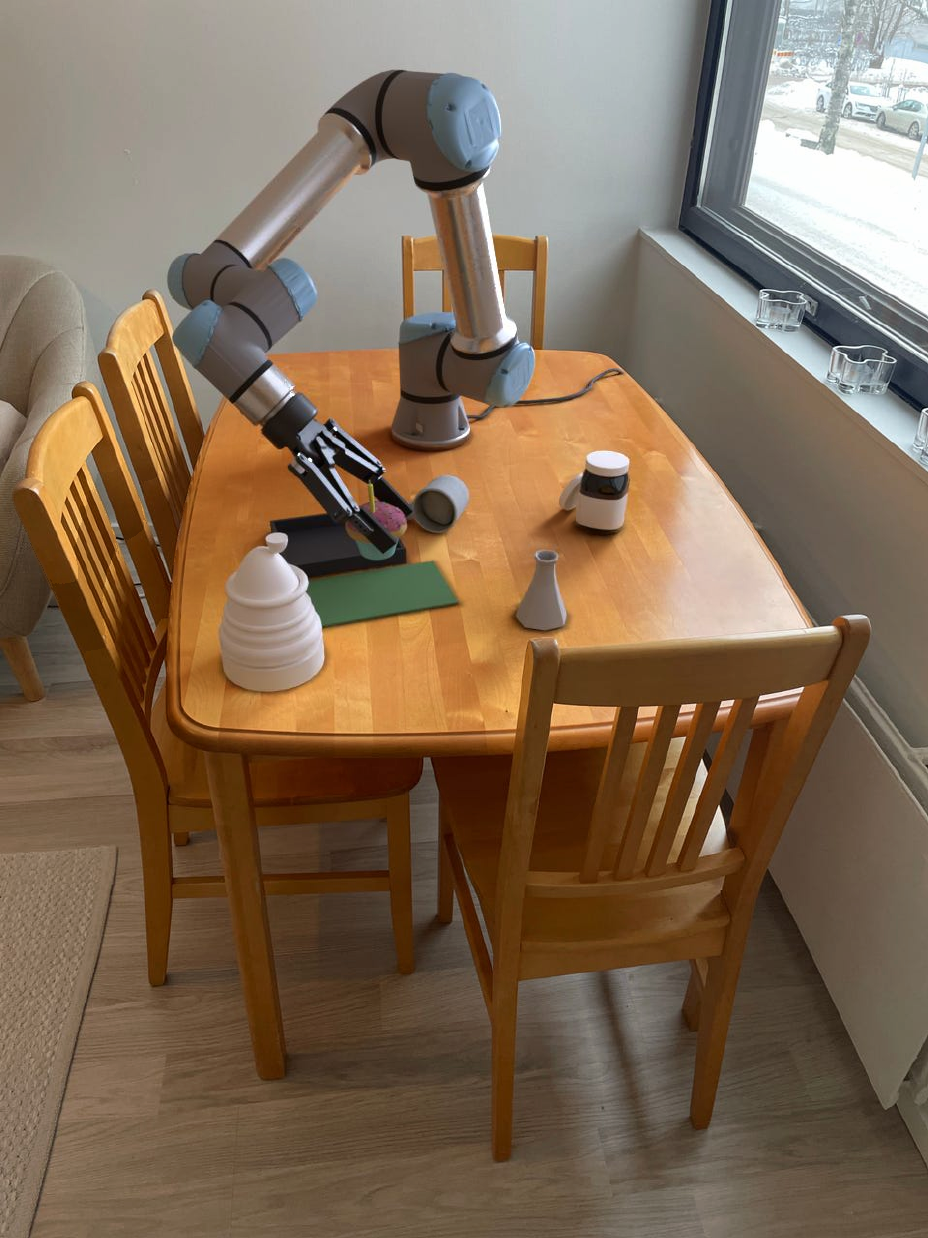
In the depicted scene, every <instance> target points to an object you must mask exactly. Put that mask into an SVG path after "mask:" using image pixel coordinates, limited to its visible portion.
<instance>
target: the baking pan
mask: <svg viewBox="0 0 928 1238" xmlns="http://www.w3.org/2000/svg"><path fill="white" fill-rule="evenodd" d="M337 513H338V512H337ZM269 529H270V530H269V531H270V534H272V533H284V534H286V535H287V536H288V543H287V546H286V548H285V550H284V551H282V552H281V553H279V554H280V555H281V556H282V557H283V558H284V559H285V561H286V562H287V563H288V564H291V565H294V566H296V567H298V568H299V569H301V570H302V571H303V572H304V573H305V574H306V575H307V578H308V579H312V578H316V577H324V576H330V575H337V574H338V575H339V574H343V573H350V572H356V571H363V570H370V569H376V568H381V567H382V568H384V567H388V566H389V567H390V566H394V565H396V566H397V565H402V564H407V547H406V546H405V544H404V542H403V540H402V539H401V537H400V538H399V540H398V543H397V545H396V548H395V552H394V554H393V555H392V556H391V557H389V558H387V559H384V560H370V559H367V558H365V557H363V556H362V555H361V553H360V550H359V548H358V545H357V543H356V541H355V540H354V539H352V538H351V537H350V536H349V534H348V532H347V530H346V523H344V524H343V525H341V524H336V523H335V522H334V521H333V520H332V518H331V517H330V516H329V515H328V513H327V512H324V513H316V514H310V515H301V516H295V517H287V518H279V519H273V520H272V519H271V520H269ZM297 578H298V577H297Z"/></svg>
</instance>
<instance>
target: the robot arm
mask: <svg viewBox="0 0 928 1238" xmlns="http://www.w3.org/2000/svg"><path fill="white" fill-rule="evenodd" d="M501 122H502V121H501V116H500V111H499V107H498V104H497V101H496V99H495V97H494V95H493V94H492V92H491V91H490V89H489V88H488V87H487V86H486V84H484V83H482V82H481V81H480V80H479V79H477V78H475V77H472V76H465V75H462V74H459V73H456V72H446V73H441V72H439V73H438V72H426V71H412V70H406V69H388V70H385V71H380V72H379V73H376V74H374V75H371V76H370V77H368V78H366V79H365V80H363V81H361V82H360V83H358V84H357V85H356V86H354V87H353V88H351V89H350V90H349V91H348V92H346V93H344V95H342V97H340V98H339V99H338V100H336V101H335V103H334V104H333V105H332V106H331V107H329V109H327V111H325V112H324V114H323V115H321V117H320V118H319V120H318V121H317V132H316V133H315V134H314V136H312V137H311V138H310V139H309V141H308V142H307V143H306V144H305V145H304V146H303V147H302V148H301V149H300V150H299V151H298V152H297V153H296V154H295V155H294V156H293V157H292V158H291V159H290V160H289V161H288V162H287V164H286V165H285V166H283V167H282V168H281V170H280V171H279V172H278V173H276V174H275V176H274V177H273V178H272V179H271V180H270V181H269V182H268V184H266V186H265V187H263V188H262V190H261V191H260V192H259V193H258V194H257V195H256V196H255V197H254V198H253V199H252V200H251V201H250V202H249V203H248V205H246V207H244V208H243V210H241V212H240V213H239V214H238V215H237V216H236V217H235V218H234V219H233V220H232V221H231V222H230V223H229V224H228V225H227V226H226V228H224V230H223V231H222V232H220V233H219V235H218V236H217V237H216V238H215V239H214V240H213V241H212V242H211V243H210V244H209V245H208V246H207V247H206V248H205V249H204V250H203V251H202V252H201V253H198V252H197V253H196V252H191V253H189V252H188V253H183V254H181V255H178V256H176V257H175V258H174V260H172V262H171V263H170V265H169V268H168V271H167V277H166V282H167V288H168V292H169V294H170V296H171V297H172V299H173V300H174V302H176V304H178V305H179V306H181V307H182V308H185V309H187V310H188V311H190V312H189V313H188V314H186V316H185V317H184V318H183V319H182V320H181V321H180V323H179V324H178V325H177V326H176V328H175V329H174V331H173V333H172V335H171V336H172V337H171V339H172V340H171V341H172V344H173V346H174V347H175V348H176V349H177V350H178V352H179V353H180V354H181V355H182V356H183V358H185V359H186V361H187V362H188V363H189V364H190V365H191V366H192V368H193V369H194V370H196V371H198V372H199V374H201V375H202V377H204V378H205V379H206V380H207V382H209V383H210V384H211V385H212V386H213V387H214V388H215V389H216V390H217V391H219V393H221V395H223V396H224V397H225V399H227V400H228V402H229V403H230V404H231V405H232V406H234V407H235V408H236V409H237V410H238V411H239V413H240V414H241V415H242V416H244V417H245V418H246V419H247V420H248V421H249V422H250V423H251V424H252V426H254V427H258V426H260V427H261V429H260V433H261V435H262V436H263V437H265V439H267V441H268V442H269V443H270V444H272V446H273V447H275V448H276V450H283V449H284V448H287V449H288V450H289V451H290V452H291V454H292V456H293V457H294V458H293V460H291V462H289V463H288V464H287V466H286V468H287V470H288V471H289V472H290V473H291V474H292V475H293V476H295V477H296V478H297V479H298V480H300V482H301V483H302V484H303V486H304V487H305V488H306V489H307V491H308V492H309V493H310V494H311V495H312V496H313V498H314V499H315V500H316V502H317V503H318V504H319V505H320V506H321V508H322V509H323V510H324V511H325V513H328V515H329V516H330V517H331V518H332V520H333V521H334V522H335V523H336V524H341V525H343V524H344V523H346V522H347V521H349V522H350V523H351V524H352V525H353V526H354V527H355V528H356V529H357V530H358V531H359V532H360V533H361V534H362V535H363V536H365V537H366V538H367V539H368V540H369V541H370V542H371V543H372V544H373V545H374V546H375V547H376V548H377V549H378V550H379V551H380V552H381V553H382V554H384V553H385V552H386V551H388V550H389V549H390V548H392V547H393V546H394V545H395V544H397V542H398V540H397V539H396V538H395V537H394V536H393V535H392V534H391V533H390V532H389V531H388V530H387V529H386V528H385V527H384V526H383V525H382V524H381V523H380V522H379V521H378V520H377V519H376V518H375V517H374V516H373V515H372V514H371V513H370V512H369V511H368V510H367V509H366V508H365V507H364V506H363V507H362V508H361V509H359V507H358V506H359V505H358V504H357V502H356V500H355V499H354V497H353V495H352V494H351V492H350V490H349V489H348V488H347V486H346V484H345V483H344V481H343V479H342V478H341V476H340V475H339V473H338V471H337V470H336V468H335V466H337V467H339V468H340V469H342V470H343V471H345V472H347V474H350V475H352V476H353V477H355V478H356V479H358V480H360V481H362V482H363V483H365V484H366V485H368V484H369V480H370V482H371V484H372V485H373V494H374V498H375V499H376V500H377V501H379V502H385V503H388V504H390V505H393V506H394V507H396V508H397V507H398V508H399V509H400V510H401V511H402V512H403V514H404V515H405V518H406V517H407V516H408V515H410V514H411V513H412V512H413V511H414V509H413V507H412V506H411V505H410V504H409V503H410V502H408V501H407V500H406V499H405V498H404V497H403V496H402V495H401V494H400V493H399V492H398V490H396V489H395V488H394V486H392V484H390V482H389V481H387V479H385V478H384V477H383V476H382V475H384V474H385V473H386V471H387V469H386V468H385V466H383V463H382V462H381V460H379V459H378V458H377V457H376V456H374V455H373V453H372V452H370V451H369V450H367V449H366V448H365V447H364V446H363V445H361V444H360V443H359V442H358V441H357V440H355V439H354V438H353V437H352V436H351V435H350V434H349V433H348V432H346V431H345V430H344V429H343V428H342V427H341V426H340V425H339V423H338V422H337V421H336V420H335V419H334V418H332V417H329V418H328V419H327V420H326V421H325V422H324V423H321V422H319V421H318V420H317V419H315V417H316V416H317V415H318V413H319V409H318V407H317V406H316V405H315V404H314V403H313V402H311V400H310V399H309V398H308V397H307V396H306V395H305V394H304V393H303V392H300V391H297V392H296V391H295V389H296V385H295V384H294V382H292V381H291V380H290V379H289V378H288V376H286V375H285V373H284V372H283V371H282V370H281V369H279V367H277V366H276V364H274V362H273V361H272V360H271V359H270V358H269V357H268V356H267V355H266V354H267V353H268V351H270V350H271V349H272V347H273V346H275V345H276V344H277V343H278V342H279V341H280V340H281V339H282V338H284V336H286V335H287V334H288V333H289V332H290V331H291V330H292V329H293V328H295V327H296V326H297V325H298V324H299V323H301V322H303V319H304V317H305V316H306V315H307V314H308V313H309V312H310V311H311V309H313V307H314V306H315V305H316V303H317V301H318V291H317V288H316V286H315V284H314V281H313V279H312V277H311V276H310V274H309V273H308V272H307V270H305V269H304V268H303V266H301V265H300V264H299V263H298V262H296V261H295V260H293V259H291V258H289V257H288V258H287V257H281V258H279V257H280V256H281V255H282V254H283V252H285V251H286V250H287V248H289V246H290V245H291V244H292V243H293V242H294V241H295V240H296V239H297V238H298V237H299V235H300V234H301V233H302V232H303V231H305V229H306V228H307V227H308V226H309V225H310V224H311V222H313V220H315V218H316V217H317V216H318V215H319V214H320V213H321V212H322V211H323V209H325V207H326V206H327V205H328V204H329V203H330V202H331V201H332V200H333V198H334V197H336V195H337V194H338V193H339V192H340V191H341V190H343V188H344V187H345V186H346V184H347V183H348V182H350V180H351V179H352V178H353V177H354V176H355V175H356V176H361V175H365V174H366V173H367V172H369V171H370V169H371V168H372V167H373V166H374V165H375V164H378V163H379V162H383V161H385V160H393V159H394V160H399V161H405V162H409V164H410V168H411V172H412V178H413V181H414V184H415V187H416V188H417V189H418V190H420V191H421V192H424V193H425V194H427V198H428V203H429V207H430V211H431V218H432V221H433V227H434V230H435V231H434V232H435V235H436V240H437V245H438V249H439V253H440V258H441V263H442V267H443V268H442V269H443V273H444V277H445V281H446V287H447V291H448V296H449V300H450V304H451V309H452V312H451V311H436V312H427V313H426V312H425V313H420V314H416V315H412V316H410V317H407V318H405V319H404V320H403V321H402V322H401V324H400V325H399V332H398V333H399V335H398V336H399V337H398V364H399V366H398V367H399V399H398V403H397V407H396V410H395V413H394V416H393V418H392V421H391V438H392V440H394V441H395V443H397V444H398V445H401V446H403V447H406V448H408V449H413V450H416V451H417V450H419V451H428V452H429V451H444V450H450V449H454V448H457V447H459V446H461V445H463V444H465V443H467V441H468V440H469V439H470V434H471V433H470V432H471V430H470V429H471V428H470V427H471V426H470V423H469V420H470V419H471V420H472V419H475V420H481V419H484V418H485V417H487V416H488V415H489V413H490V412H491V411H492V409H494V408H497V407H499V408H502V409H503V408H505V409H506V408H510V407H512V406H513V405H527V404H528V405H529V404H530V405H532V404H545V403H555V402H563V401H567V400H571V399H574V398H578V397H580V396H582V395H584V394H585V393H587V392H589V391H590V390H591V388H592V387H593V384H594V383H595V382H597V381H598V380H600V379H601V378H603V377H605V376H606V375H608V374H611V373H614V372H616V373H618V374H619V375H624V372H623V371H622V369H620V368H616V367H613V368H609V369H607V370H604V371H602V372H601V373H599V374H598V375H596V376H595V377H593V378H592V379H591V380H590V381H589V384H588V385H587V386H586V387H585V388H584V389H581V391H578V392H576V393H573V394H572V393H571V394H568V395H565V396H560V397H553V398H552V397H551V398H539V399H538V398H537V399H523V400H521V398H522V397H523V396H524V395H525V393H526V392H527V390H528V388H529V386H530V383H531V381H532V379H533V377H534V372H535V368H536V367H535V366H536V354H535V351H534V348H533V346H531V345H529V344H528V343H527V342H525V341H524V342H523V341H522V342H521V341H520V340H519V336H518V330H517V324H516V322H515V321H514V319H513V318H511V317H509V316H508V315H506V311H505V305H504V300H503V294H502V288H501V282H500V276H499V270H498V265H497V264H498V263H497V258H496V253H495V247H494V241H493V235H492V229H491V222H490V217H489V210H488V203H487V199H486V193H485V188H484V180H485V178H486V177H487V176H488V174H489V173H490V171H491V163H492V162H493V161H494V160H495V157H496V156H497V153H498V150H499V147H500V144H499V142H498V139H500V138H501V137H502V136H501V134H502V123H501ZM462 397H463V398H467V399H469V400H473V401H476V402H479V403H482V404H485V405H487V406H489V407H488V408H487V409H485V412H483V413H481V414H467V413H466V409H465V406H464V403H463V400H462ZM337 512H338V513H337Z"/></svg>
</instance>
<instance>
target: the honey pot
mask: <svg viewBox="0 0 928 1238" xmlns="http://www.w3.org/2000/svg"><path fill="white" fill-rule="evenodd" d="M265 542H266V545H267V546H266V545H260V546H257V547H254V548H252V549H251V550H249V552H248V553H246V555H245V556H244V558H243V559H242V560H241V562H240V564H239V566H238V568H237V570H236V571H234V572H233V573H232V574H231V575H230V576H229V577H228V578H227V580H226V582H225V585H224V588H225V594H226V595H227V600H226V601H225V603H224V606H223V614H222V616H221V623H220V625H219V627H218V641H219V648H220V655H221V661H222V667H223V672H224V674H225V675H226V678H227V679H228V680H230V681H231V682H232V683H233V684H234V685H236V686H238V687H241V688H243V689H245V690H249V691H255V692H268V693H269V692H270V693H271V692H279V691H280V692H281V691H287V690H289V689H293V688H296V687H299V686H301V685H302V684H305V683H307V682H309V681H310V680H311V679H313V678H314V677H316V675H317V674H319V672H320V671H321V669H322V668H323V665H324V661H325V646H324V637H323V636H324V635H323V627H322V625H321V620H320V617H319V615H318V614H317V613H316V611H315V608H314V606H313V605H312V603H311V598H310V597H309V595H308V594H307V593H306V590H307V587H308V584H309V582H308V580H309V578H307V575H306V574H305V573H304V572H303V571H302V570H301V569H299V568H298V567H296V566H294V565H291V564H288V563H287V562H286V561H285V559H284V558H283V557H282V556H281V555H280V554H279V553H281V552H282V551H284V550H285V548H286V546H287V543H288V536H287V535H286V534H284V533H272V534H271V533H270V534H268V535H266V537H265ZM297 577H298V578H297Z"/></svg>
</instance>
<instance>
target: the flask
mask: <svg viewBox="0 0 928 1238" xmlns="http://www.w3.org/2000/svg"><path fill="white" fill-rule="evenodd" d="M533 558H534V560H535V570H534V572H533V577H532V579H531V581H530V583H529V585H528V587H527V590H526V592H525V594H524V595H523V598H522V599H521V601H520V603H519V606H518V608H517V611H516V614H515V618H516V619H517V620H518V621H519V622H520V623H521V624H522V626H523V627H524V628H527V629H535V630H540V631H549V630H553V629H557V628H561V627H564V626H565V624H566V620H567V616H568V614H567V610H566V608H565V607H566V606H565V604H564V601H563V598H562V595H561V592H560V588H559V584H558V581H557V575H556V564H557V561H558V558H559V554H558V553H557V552H555V550H551V549H540V550H536V551H535V554H534V557H533Z"/></svg>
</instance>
